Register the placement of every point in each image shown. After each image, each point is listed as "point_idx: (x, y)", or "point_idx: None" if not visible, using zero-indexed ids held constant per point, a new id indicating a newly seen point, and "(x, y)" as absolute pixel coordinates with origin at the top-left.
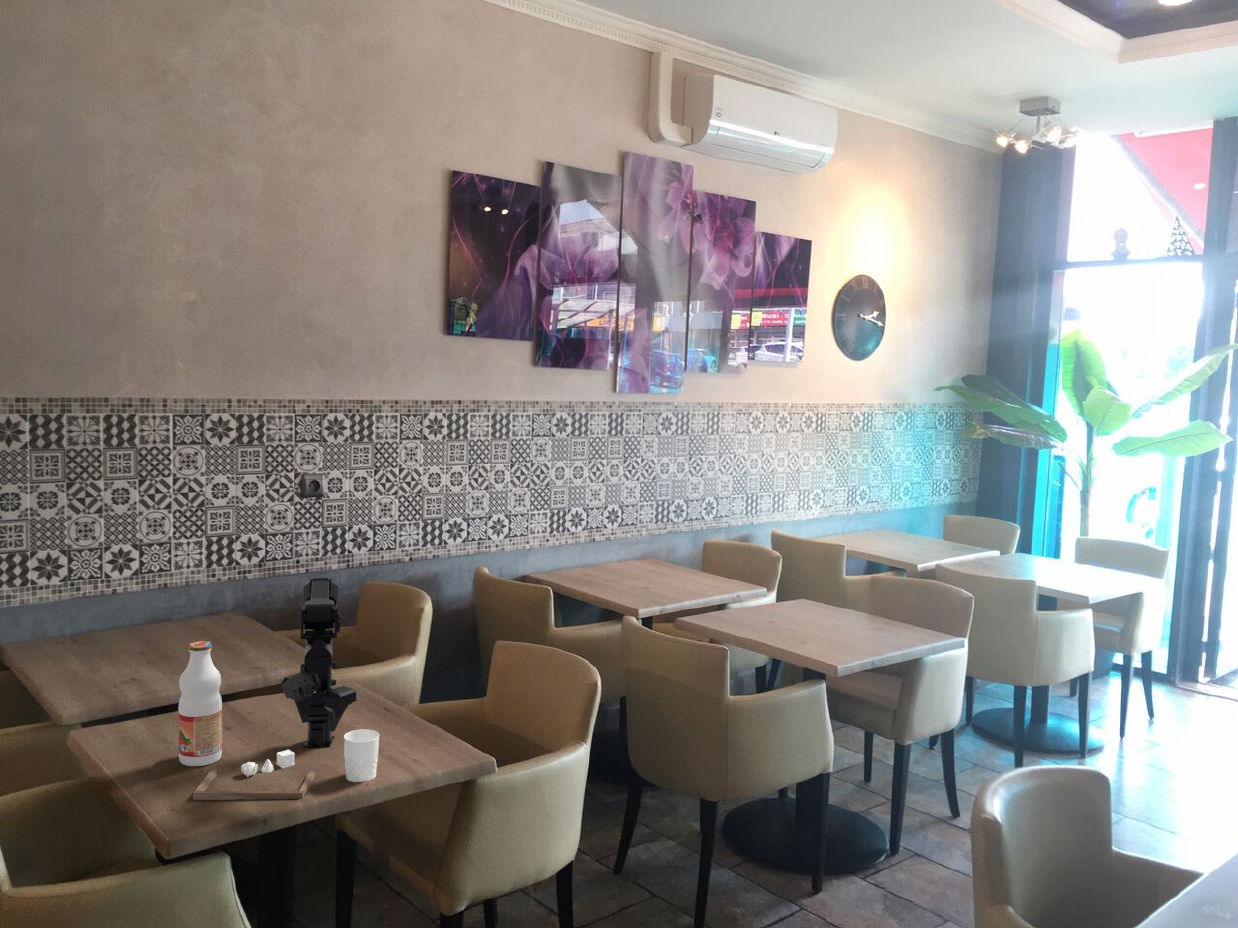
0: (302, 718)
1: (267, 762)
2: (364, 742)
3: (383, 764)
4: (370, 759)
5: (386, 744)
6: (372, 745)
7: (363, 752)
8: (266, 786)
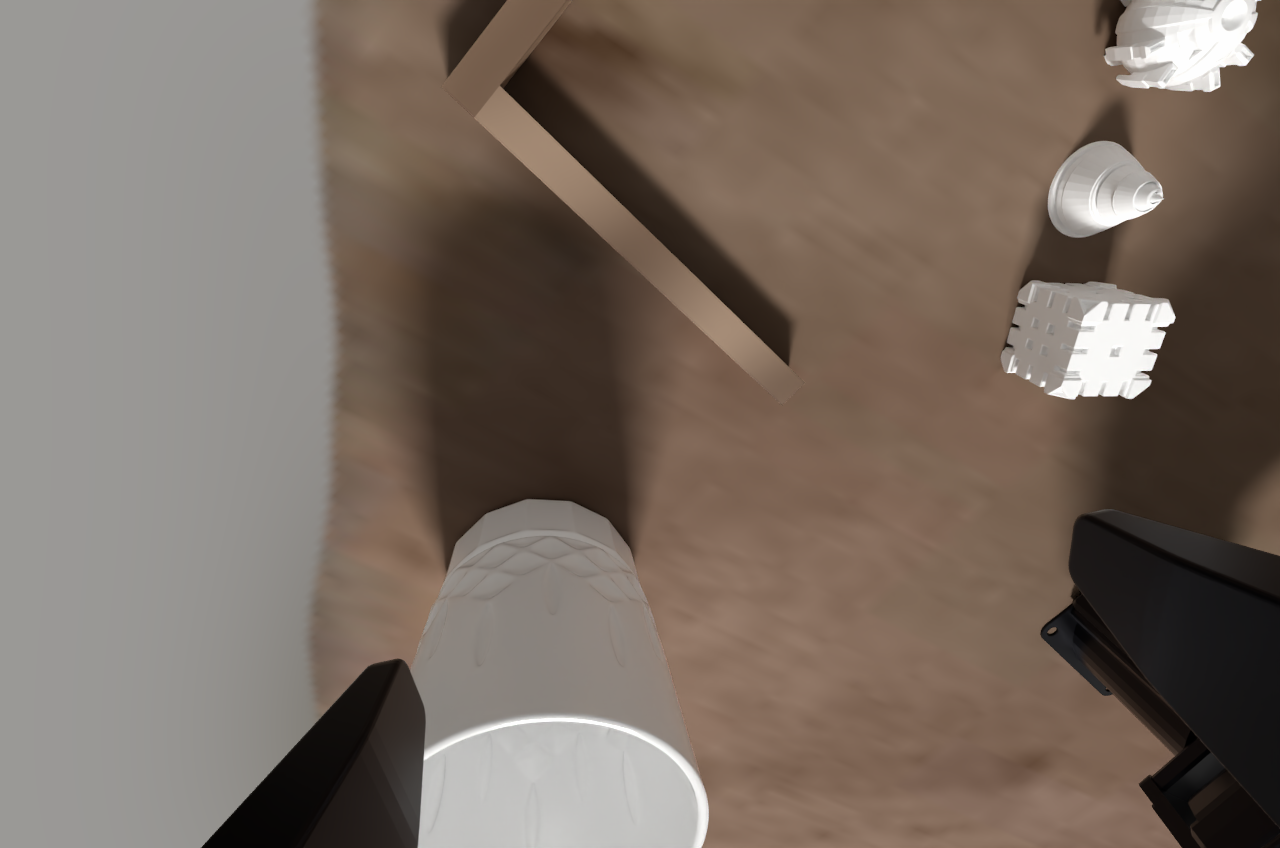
0: (1138, 541)
1: (1131, 184)
2: None
3: None
4: None
5: (822, 821)
6: None
7: None
8: (869, 8)
